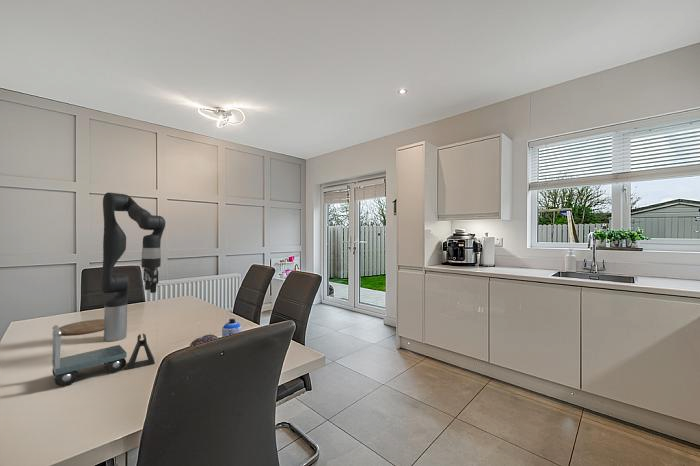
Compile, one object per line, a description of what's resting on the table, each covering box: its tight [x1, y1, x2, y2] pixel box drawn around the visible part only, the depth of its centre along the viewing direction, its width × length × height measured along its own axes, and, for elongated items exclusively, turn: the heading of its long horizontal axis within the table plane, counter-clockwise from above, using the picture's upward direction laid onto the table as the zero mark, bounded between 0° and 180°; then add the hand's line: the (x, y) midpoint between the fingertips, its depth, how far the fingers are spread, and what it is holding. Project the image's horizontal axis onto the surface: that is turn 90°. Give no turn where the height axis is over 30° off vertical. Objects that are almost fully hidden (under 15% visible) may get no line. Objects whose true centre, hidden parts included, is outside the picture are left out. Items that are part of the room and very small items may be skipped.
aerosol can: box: [221, 318, 243, 338], centre depth 119 cm, size 8×8×20 cm
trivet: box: [59, 318, 104, 337], centre depth 166 cm, size 25×25×2 cm
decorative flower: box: [189, 334, 219, 346], centre depth 123 cm, size 15×12×15 cm
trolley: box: [51, 324, 127, 388], centre depth 112 cm, size 12×20×20 cm, turn 139°
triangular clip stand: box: [127, 333, 156, 371], centre depth 121 cm, size 9×6×12 cm, turn 127°
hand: (150, 291), depth 137 cm, fingers open, 8 cm apart
